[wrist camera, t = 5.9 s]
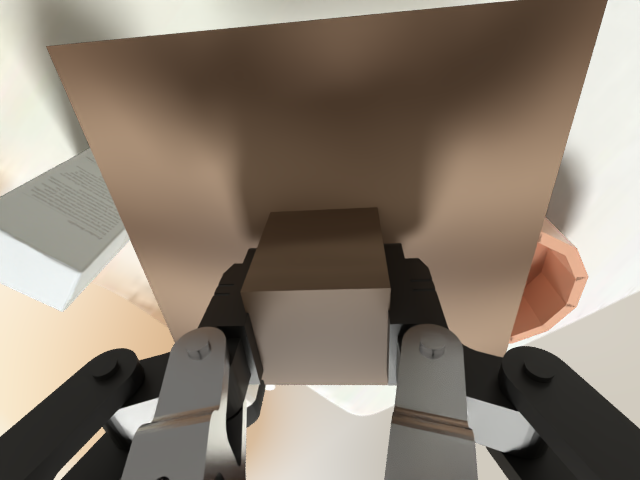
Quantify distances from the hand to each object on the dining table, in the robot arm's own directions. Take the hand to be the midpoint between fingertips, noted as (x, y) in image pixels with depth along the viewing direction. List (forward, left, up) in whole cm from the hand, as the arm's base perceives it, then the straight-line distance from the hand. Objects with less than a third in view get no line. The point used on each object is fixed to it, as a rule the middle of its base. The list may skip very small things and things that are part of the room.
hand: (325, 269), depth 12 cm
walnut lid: (0, 0, -2) cm, 2 cm away
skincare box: (+3, -18, -17) cm, 25 cm away
